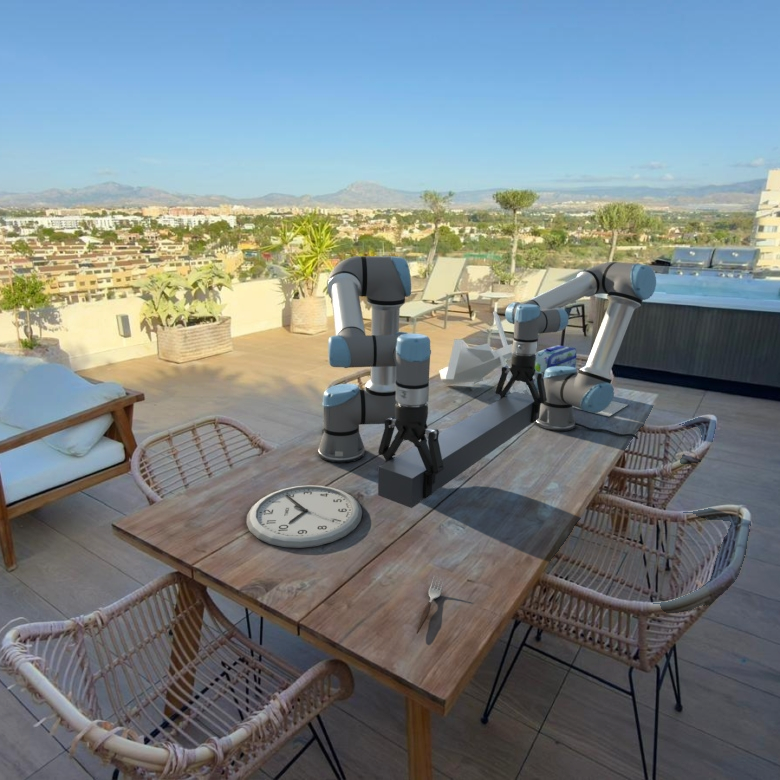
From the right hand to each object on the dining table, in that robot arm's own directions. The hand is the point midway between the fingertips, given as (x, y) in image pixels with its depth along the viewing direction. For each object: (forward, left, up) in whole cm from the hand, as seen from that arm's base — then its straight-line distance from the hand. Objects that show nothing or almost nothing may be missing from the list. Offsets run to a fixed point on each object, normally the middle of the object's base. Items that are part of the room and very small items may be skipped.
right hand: (518, 418), depth 175 cm
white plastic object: (+9, -67, -12) cm, 69 cm away
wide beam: (+16, +28, -1) cm, 32 cm away
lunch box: (-25, -76, -12) cm, 81 cm away
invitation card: (-42, -55, -12) cm, 70 cm away
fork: (+26, +81, -12) cm, 86 cm away
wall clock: (+60, +50, -12) cm, 79 cm away
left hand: (+32, +55, 0) cm, 64 cm away
